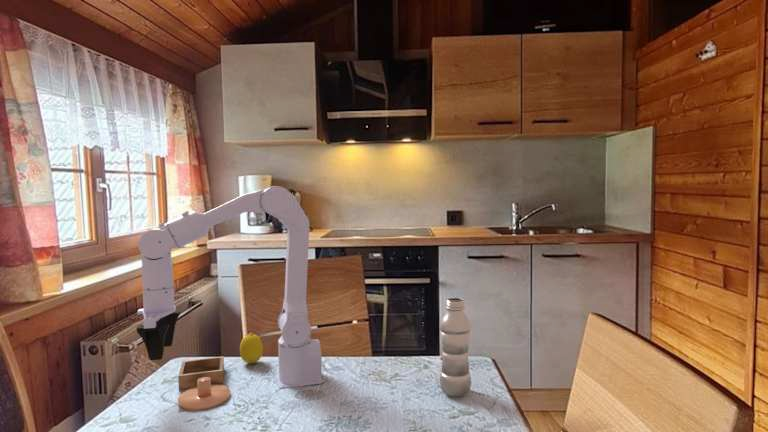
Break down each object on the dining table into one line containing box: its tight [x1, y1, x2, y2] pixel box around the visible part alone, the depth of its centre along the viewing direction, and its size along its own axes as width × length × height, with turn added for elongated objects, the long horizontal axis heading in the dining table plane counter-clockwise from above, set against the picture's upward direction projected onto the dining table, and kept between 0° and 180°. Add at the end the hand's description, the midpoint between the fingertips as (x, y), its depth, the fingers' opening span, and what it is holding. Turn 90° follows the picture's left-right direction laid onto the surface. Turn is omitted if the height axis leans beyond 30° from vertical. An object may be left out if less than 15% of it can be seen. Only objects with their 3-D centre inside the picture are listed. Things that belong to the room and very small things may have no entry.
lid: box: [177, 377, 231, 411], centre depth 95 cm, size 10×10×4 cm
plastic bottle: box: [439, 297, 472, 398], centre depth 96 cm, size 6×7×20 cm
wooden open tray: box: [177, 355, 225, 391], centre depth 104 cm, size 9×9×4 cm
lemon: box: [239, 332, 264, 365], centre depth 113 cm, size 6×6×8 cm
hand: (161, 352), depth 95 cm, fingers open, 7 cm apart
